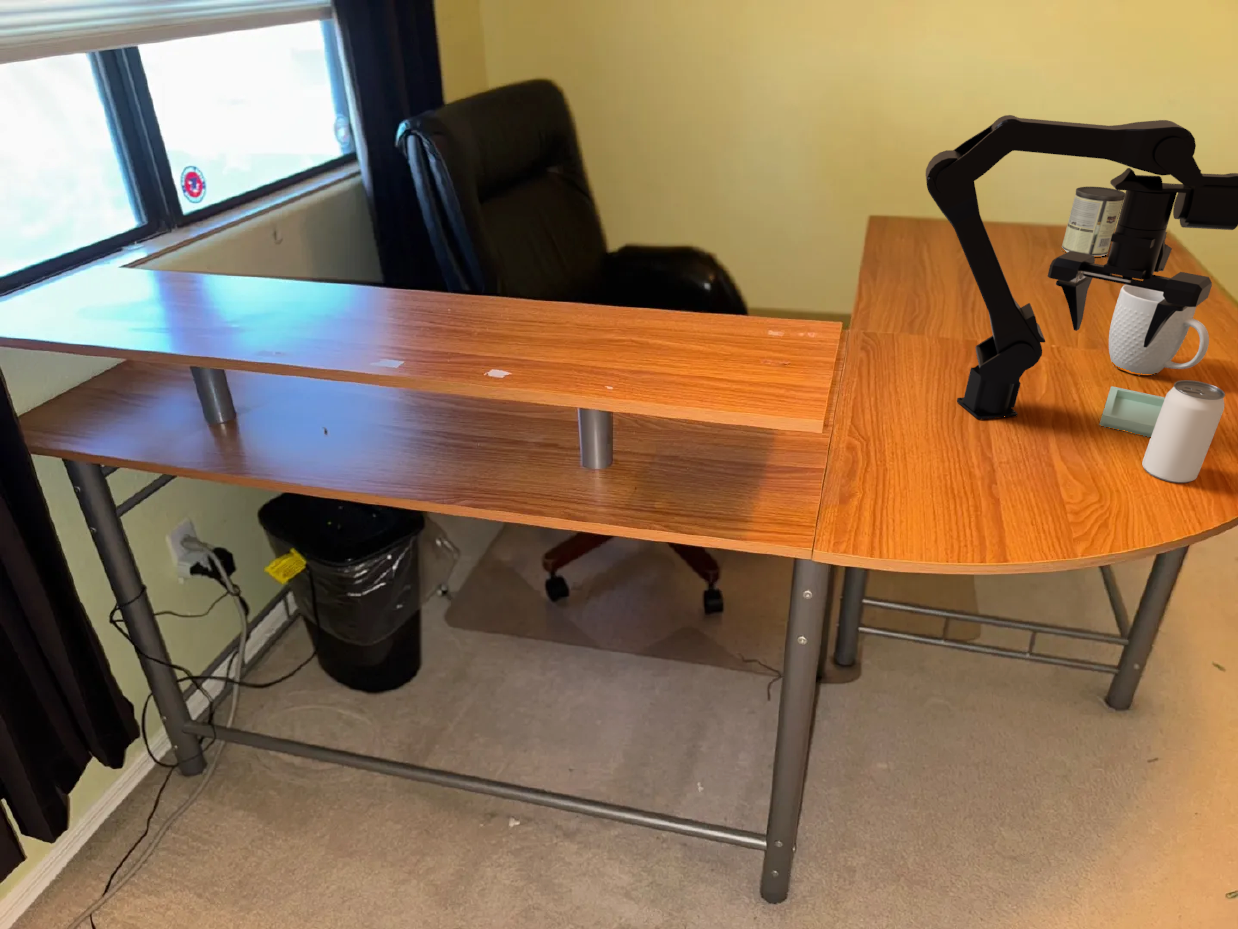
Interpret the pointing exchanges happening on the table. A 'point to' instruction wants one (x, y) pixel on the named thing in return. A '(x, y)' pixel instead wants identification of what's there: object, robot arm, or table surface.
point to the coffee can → (1093, 220)
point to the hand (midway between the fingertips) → (1110, 338)
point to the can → (1184, 431)
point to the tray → (1131, 411)
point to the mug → (1132, 329)
